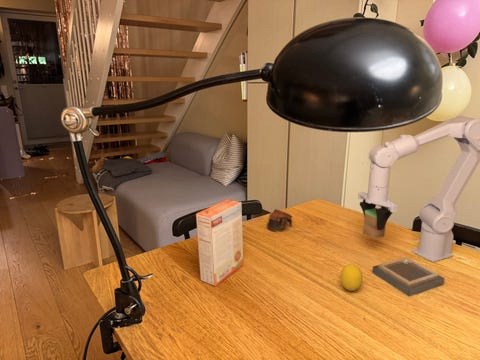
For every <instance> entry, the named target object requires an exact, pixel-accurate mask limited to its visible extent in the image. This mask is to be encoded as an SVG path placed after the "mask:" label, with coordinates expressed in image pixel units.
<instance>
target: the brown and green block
mask: <svg viewBox="0 0 480 360" xmlns="http://www.w3.org/2000/svg"><path fill="white" fill-rule="evenodd" d="M375 209H378V207H375V208H373V209H368V210H365V217H363V218H364V219H363V220H364V221H363V229H362V230H363V231H362V233H363V235H365V236H367V237H369V238H371V239H373V240H375V239H379V238H383V237H385V234H386V227H387V225H385V227H384V229H382V230H378V229H377V214H376V210H375Z"/></svg>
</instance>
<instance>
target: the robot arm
mask: <svg viewBox="0 0 480 360" xmlns="http://www.w3.org/2000/svg"><path fill="white" fill-rule="evenodd" d="M447 137H448V138H453V139H454V140H455V141H457V143H458V145H459V148H460V150H461V151H460V153H459V155H458V157H457V159H456V160H455V162H454V164H453V166H452V167H451V169H450V171H449V173H448V175H447V176H446V178H445V180H444V182H443V183H442V185H441V188H440V189H439V191H438V193H437V194H436V196H435V197H433V198H430V199H429V200H428V202H427V203H426V204H424V205H423V206H422V207H421V208H420V210H419V213H418V216H419V219H420V220H421V228H420V229H421V230H420V233H419V234H420V236H419V243H418V247H417V248H414V249H412V250H411V252H413V253H414V254H416V255H419V257H422V258H423V259H426V260H428V261H430V262H433V263H434V262H437V261H441V260H444V259H447V258H451V257H453V256H454V254H453V253H452V250H453V249H452V248H453V243H454V233H453V231H452V229H453V228H454V224H455V219H456V217H457V215H458V213H457V209H456V204H457V202H458V200H459V199H460V197H461V195H462V193H463V191H464V190H465V188H466V186H467V184H468V183H469V181H470V180H471V178H472V176H473V174H474V173H475V171H476V169H477V167H478V165H479V164H480V118H475V117H474V118H473V117H467V116H464V115H457V116H455V117H453V118H449V119H446V120H445V121H443V122H440V123H439V124H436V125H435V126H433V127H431V128H429V129H426V130H425V131H422V132H420V133H418V134H416V135H411V134H404V133H403V134H400V135H399V137H398V138H397V139H393V140H390V141H385V142H384V144H383V145H380V144H379V145H374V146H373V147H372V148H371V149H370V151H369V153H367V157H368V160H369V161H370V168H369V173H368V174H369V176H368V186H367V187H368V189H367V192H364V191H361V192H357V193H358V194H357V199H358V200H362V201H360V202H359V206H360V208H361V210H362V212H363V214H362V215H363V216H364V217H365V210H368V209H373V208H377V209H375V210H376V214H377V229H378V230H382V229H384V227H385V228H386V226H387V225H386V224H387V222H388V220H389V219H390V218H391V215H392V214H393V213H398V211H399V205H398V204H396V203H395V202H393V201H391V200H390V199H389V198H388V194H389V188H390V187H389V186H390V185H389V184H390V175H391V168H392V166H393V165H394V163H395V162H396V161H397V160H400V159H403V158H405V157H407V156H410V155H412V154H415V153H417V152H418V150H419V148H420V147H422V146H425V145H427V144H430V143H432V142H436V141H439V140H442V139H444V138H447ZM376 206H378V207H379V208H378V207H376ZM364 217H363V218H364ZM385 225H386V226H385Z"/></svg>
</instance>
